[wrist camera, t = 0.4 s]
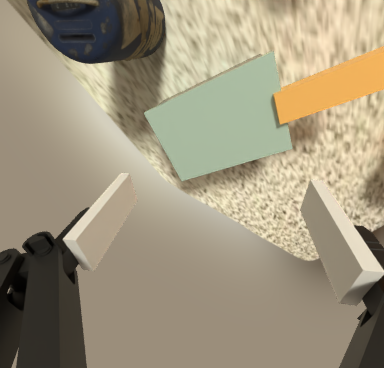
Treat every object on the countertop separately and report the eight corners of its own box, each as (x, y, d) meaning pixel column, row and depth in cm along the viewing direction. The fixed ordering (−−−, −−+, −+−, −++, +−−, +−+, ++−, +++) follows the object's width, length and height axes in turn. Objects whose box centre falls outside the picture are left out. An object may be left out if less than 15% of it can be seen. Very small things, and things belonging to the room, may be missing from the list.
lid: (146, 110, 30) (141, 114, 29) (387, -5, 19) (401, -10, 18) (183, 177, 36) (180, 183, 35) (381, 118, 26) (391, 122, 24)
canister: (162, 64, 34) (112, 79, 20) (110, 48, 34) (21, 51, 20) (172, -10, 28) (112, -65, 14) (110, -30, 28) (-16, -106, 14)
